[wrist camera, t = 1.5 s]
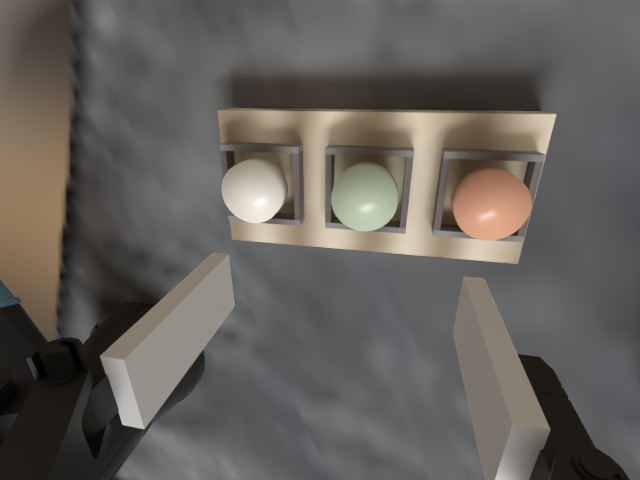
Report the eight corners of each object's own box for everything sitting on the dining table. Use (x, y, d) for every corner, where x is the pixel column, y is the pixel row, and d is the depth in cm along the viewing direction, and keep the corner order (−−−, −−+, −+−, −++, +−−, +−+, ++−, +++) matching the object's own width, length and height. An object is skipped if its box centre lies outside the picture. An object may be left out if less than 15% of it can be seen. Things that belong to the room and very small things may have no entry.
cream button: (235, 213, 31) (225, 220, 30) (229, 156, 29) (218, 161, 27) (289, 216, 30) (282, 225, 29) (286, 158, 28) (279, 163, 27)
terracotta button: (446, 227, 28) (449, 237, 26) (456, 165, 26) (460, 171, 24) (514, 232, 27) (522, 243, 25) (529, 168, 25) (539, 174, 23)
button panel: (244, 228, 37) (225, 245, 33) (232, 107, 32) (208, 111, 28) (507, 248, 33) (523, 272, 28) (540, 111, 28) (565, 116, 24)
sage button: (334, 220, 30) (330, 228, 28) (335, 160, 28) (331, 166, 26) (395, 224, 29) (394, 233, 27) (400, 163, 27) (400, 168, 25)
